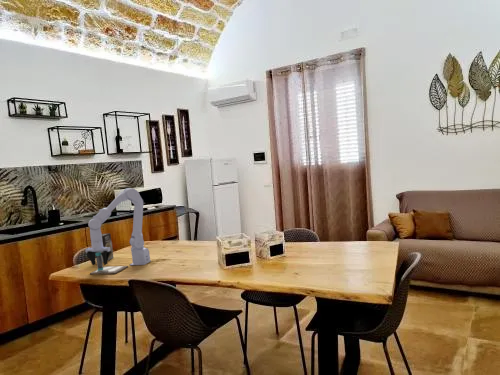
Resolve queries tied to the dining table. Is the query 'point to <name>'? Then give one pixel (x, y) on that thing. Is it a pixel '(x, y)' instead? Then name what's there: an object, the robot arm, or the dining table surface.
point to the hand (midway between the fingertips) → (99, 264)
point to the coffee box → (107, 244)
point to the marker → (99, 261)
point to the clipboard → (109, 270)
